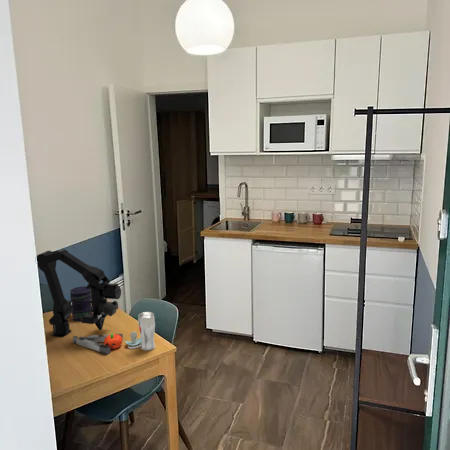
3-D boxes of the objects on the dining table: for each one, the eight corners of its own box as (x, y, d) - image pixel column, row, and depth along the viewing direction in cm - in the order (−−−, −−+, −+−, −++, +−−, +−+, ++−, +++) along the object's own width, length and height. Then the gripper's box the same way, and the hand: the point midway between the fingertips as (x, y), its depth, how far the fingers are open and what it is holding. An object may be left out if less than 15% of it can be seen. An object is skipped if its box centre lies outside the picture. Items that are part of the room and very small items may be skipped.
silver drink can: (152, 352, 174) (150, 318, 171) (137, 350, 175) (135, 317, 172) (158, 344, 181) (156, 312, 178) (143, 342, 182) (141, 311, 179)
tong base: (72, 342, 183) (71, 336, 183) (75, 341, 185) (75, 335, 184) (106, 355, 172) (106, 348, 172) (110, 352, 174) (110, 346, 173)
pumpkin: (125, 348, 179) (125, 335, 177) (107, 353, 175) (106, 340, 173) (119, 340, 185) (118, 327, 183) (101, 345, 180) (100, 332, 178)
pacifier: (144, 347, 179) (141, 341, 184) (144, 334, 177) (140, 328, 183) (128, 351, 176) (124, 344, 181) (127, 337, 174) (123, 331, 179)
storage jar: (88, 312, 217) (85, 285, 214) (96, 317, 210) (94, 289, 207) (69, 317, 210) (66, 289, 207) (77, 323, 203) (74, 294, 200)
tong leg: (78, 343, 183) (78, 337, 182) (79, 340, 185) (79, 335, 184) (122, 341, 184) (121, 335, 183) (123, 339, 186) (122, 333, 185)
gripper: (101, 307, 174) (104, 341, 177) (124, 291, 191) (126, 323, 195) (79, 304, 177) (82, 338, 180) (103, 289, 195) (105, 320, 198)
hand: (100, 329), depth 188 cm, fingers closed
